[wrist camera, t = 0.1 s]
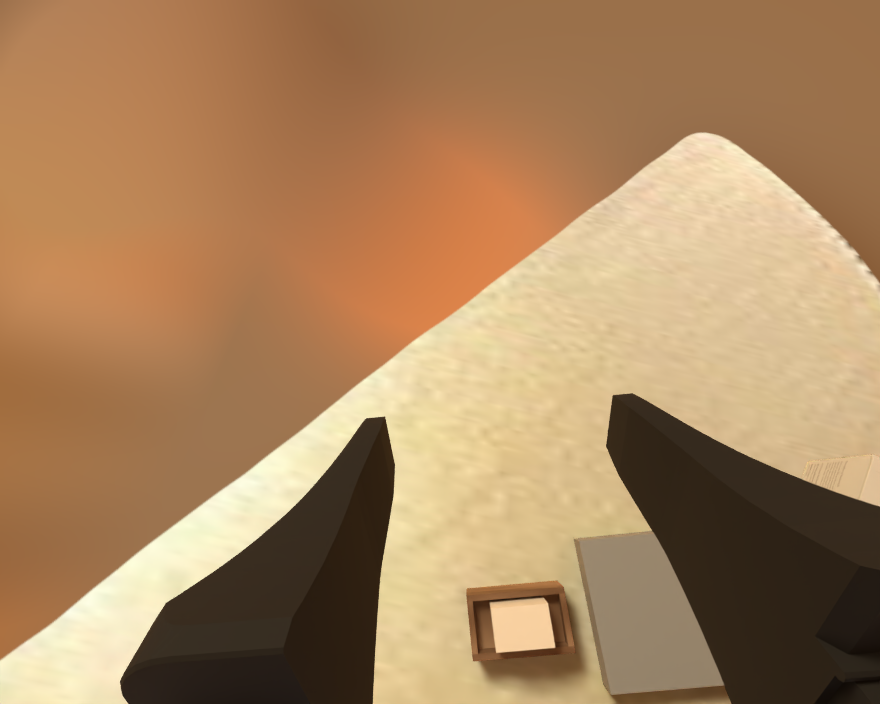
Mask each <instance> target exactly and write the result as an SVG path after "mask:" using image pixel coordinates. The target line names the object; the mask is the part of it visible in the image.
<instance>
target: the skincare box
mask: <svg viewBox="0 0 880 704" xmlns="http://www.w3.org/2000/svg"><path fill="white" fill-rule="evenodd" d="M802 480H805V481H808V482H810V483H813V484H816V485H818V486H821V487H824V488H826V489H829V490H832V491H834V492H837V493H840V494H843V495H846V496H849V497H852V498H855V499H858V500H861V501H864V502H867V503H870V504H873V505H876V506H880V457H879V456H877V455H875V454H870V455H861V456H852V457H842V458H833V459H824V460H815V461H809V462H808V463H807V464H806V467H805V470H804V474H803V477H802Z"/></svg>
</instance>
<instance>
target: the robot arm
mask: <svg viewBox="0 0 880 704" xmlns="http://www.w3.org/2000/svg"><path fill="white" fill-rule="evenodd" d="M606 447H607V449H608V452H609V454H610V456H611V459H612V461H613V463H614V466H615V468H616V470H617V472H618V474H619V476H620V478H621V480H622V481H623V483H624V485H625V486H626V488H627V490H628V491H629V493H630V495H631V496H632V498H633V500H634V501H635V503H636V505H637V506H638V508H639V510H640V511H641V513H642V515H643V516H644V518H645V519H646V521H647V523H648V524H649V526H650V528H651V529H652V531H653V533H654V534H655V536H656V538H657V539H658V541H659V543H660V545H661V546H662V548H663V550H664V552H665V554H666V555H667V557H668V559H669V562H670V564H671V566H672V568H673V570H674V572H675V574H676V576H677V578H678V580H679V582H680V584H681V586H682V588H683V591H684V593H685V595H686V597H687V599H688V602H689V604H690V606H691V608H692V610H693V613H694V615H695V617H696V619H697V621H698V624H699V626H700V628H701V631H702V633H703V635H704V638H705V640H706V642H707V645H708V647H709V649H710V652H711V654H712V656H713V659H714V661H715V664H716V666H717V668H718V671H719V673H720V676H721V678H722V681H723V683H724V686H725V688H726V691H727V693H728V696H729V699H730V701H731V704H880V506H876V505H873V504H870V503H867V502H864V501H861V500H858V499H855V498H852V497H849V496H846V495H843V494H840V493H837V492H834V491H832V490H829V489H826V488H824V487H821V486H818V485H816V484H813V483H810V482H808V481H805V480H802V479H800V478H797V477H795V476H792V475H790V474H787V473H785V472H782V471H780V470H778V469H775V468H773V467H771V466H769V465H766V464H764V463H762V462H760V461H757V460H755V459H753V458H751V457H748V456H746V455H744V454H742V453H740V452H738V451H736V450H734V449H732V448H730V447H728V446H726V445H724V444H722V443H720V442H718V441H716V440H714V439H712V438H711V437H709V436H707V435H705V434H703V433H701V432H700V431H698V430H696V429H694V428H692V427H691V426H689V425H687V424H685V423H684V422H682V421H680V420H678V419H677V418H675V417H673V416H671V415H670V414H668V413H666V412H665V411H663V410H661V409H660V408H658V407H656V406H654V405H653V404H651V403H649V402H647V401H646V400H644V399H642V398H640V397H638V396H636V395H635V394H633V393H632V394H622V395H613V398H612V405H611V413H610V421H609V428H608V436H607V444H606ZM394 474H395V463H394V459H393V454H392V449H391V444H390V439H389V434H388V429H387V424H386V419H385V417H376V418H366V419H365V420H364V421H363V423H362V424H361V426H360V427H359V428H358V430H357V431H356V433H355V434H354V436H353V437H352V438H351V440H350V441H349V443H348V444H347V445H346V447H345V448H344V449H343V451H342V452H341V453H340V455H339V456H338V457H337V458H336V460H335V461H334V462H333V464H332V465H331V466H330V467H329V469H328V470H327V471H326V472H325V473H324V474H323V476H322V477H321V478H320V479H319V480H318V482H317V483H316V484H315V485H314V486H313V487H312V488H311V489H310V491H309V492H308V493H307V494H306V495H305V496H304V497H303V498H302V499H301V500H300V501H299V502H298V503H297V504H296V505H295V506H294V507H293V508H292V509H291V510H290V511H289V512H288V513H287V514H286V515H285V516H284V517H282V518H281V519H280V520H279V521H278V522H277V523H275V524H274V525H273V526H272V527H271V528H270V529H268V530H267V531H266V532H265V533H264V534H263V535H262V536H260V537H259V538H258V539H257V540H256V541H254V542H253V543H252V544H251V545H249V546H248V547H247V548H245V549H244V550H243V551H242V552H240V553H239V554H238V555H236V556H235V557H234V558H232V559H231V560H230V561H228V562H227V563H225V564H224V565H223V566H221V567H220V568H219V569H217V570H216V571H214V572H213V573H211V574H210V575H208V576H207V577H205V578H204V579H202V580H201V581H199V582H198V583H196V584H195V585H193V586H192V587H190V588H189V589H187V590H186V591H184V592H183V593H181V594H180V595H178V596H177V597H175V598H173V599H172V600H170V601H169V602H167V603H166V604H165V606H164V607H163V609H162V610H161V612H160V613H159V615H158V617H157V618H156V620H155V621H154V623H153V625H152V626H151V628H150V630H149V631H148V633H147V635H146V636H145V638H144V640H143V642H142V643H141V645H140V647H139V648H138V650H137V652H136V653H135V655H134V657H133V659H132V660H131V662H130V664H129V665H128V667H127V669H126V670H125V672H124V674H123V676H122V678H121V680H120V685H121V691H122V695H123V697H124V698H125V700H126V701H127V702H128V704H373V683H374V663H375V644H376V628H377V612H378V599H379V585H380V575H381V567H382V560H383V554H384V549H385V543H386V537H387V531H388V525H389V519H390V513H391V507H392V501H393V494H394Z"/></svg>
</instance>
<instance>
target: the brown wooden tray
mask: <svg viewBox="0 0 880 704" xmlns="http://www.w3.org/2000/svg"><path fill="white" fill-rule="evenodd" d="M540 595H542V596H543V597H544V599H545V600H546V601H547V603H548V607H549V613H550V618H551V624H552V630H553V636H554V642H555V648H547V649H535V650H524V651H512V652H501V653H496V649H495V643H494V636H493V627H492V619H491V611H490V603H489V600H497V599H508V598H519V597H530V596H540ZM467 605H468V615H469V625H470V636H471V646H472V656H473V661H483V660H495V659H508V658H520V657H532V656H544V655H556V654H569V653H576V652H575V647H574V641H573V636H572V630H571V625H570V619H569V614H568V608H567V603H566V597H565V592H564V587H563V586H562V585H561V584H560V583H559V582H558V581H547V582H535V583H524V584H513V585H502V586H490V587H479V588H468V589H467Z"/></svg>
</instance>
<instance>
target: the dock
mask: <svg viewBox="0 0 880 704" xmlns="http://www.w3.org/2000/svg"><path fill="white" fill-rule="evenodd" d="M574 541H575V546H576V551H577V556H578V561H579V566H580V571H581V576H582V581H583V586H584V591H585V596H586V601H587V606H588V610H589V615H590V620H591V625H592V630H593V635H594V640H595V645H596V650H597V655H598V660H599V665H600V670H601V675H602V679H603V684H604V686H605V687H606V689H607V690H608V691H609V693H610V694H611V695H617V694H628V693H640V692H652V691H664V690H676V689H688V688H700V687H711V686H723V685H724V683H723V681H722V678H721V676H720V673H719V671H718V668H717V666H716V664H715V661H714V659H713V656H712V654H711V652H710V649H709V647H708V645H707V642H706V640H705V638H704V635H703V633H702V631H701V628H700V626H699V624H698V621H697V619H696V617H695V615H694V613H693V610H692V608H691V606H690V604H689V602H688V599H687V597H686V595H685V593H684V591H683V588H682V586H681V584H680V582H679V580H678V578H677V576H676V574H675V572H674V570H673V568H672V566H671V564H670V562H669V559H668V557H667V555H666V554H665V552H664V550H663V548H662V546H661V545H660V543H659V541H658V539H657V538H656V536H655V534H654V533H653V531H649V532H639V533H629V534H619V535H608V536H598V537H588V538H578V539H574Z"/></svg>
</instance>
